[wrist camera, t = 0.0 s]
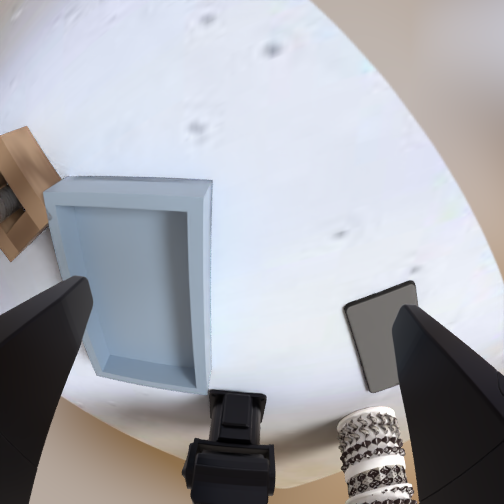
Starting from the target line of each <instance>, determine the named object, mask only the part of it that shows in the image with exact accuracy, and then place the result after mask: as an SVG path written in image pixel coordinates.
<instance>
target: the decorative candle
mask: <svg viewBox="0 0 504 504" xmlns="http://www.w3.org/2000/svg"><path fill="white" fill-rule="evenodd" d="M337 430H338V432H339V436H338V437H337V438H338V440H340V446H339V449H340V450H341V453H342V456H341V457H340V460H341V461H342V463H343V466H342V467H341V470H342V471H343V472H344V473H345V481H346V483H347V485H348V494H349V499H348V500H347V501H346V502H345V504H417V501H415V500H412V499H410V498H411V497H412V495H413V493H414V490H413V488H412V484H408V482H407V477H406V473H405V462H404V458H403V457H404V456H405V450H404V449H402V448H401V447H402V446H403V443H402V439H398V438H399V437H400V434H401V433H400V429H399V427H398V422H397V419H396V418H395V412H394V410H392V409H391V408H389V407H383V406H377V407H368V408H365V409H362V410H358V411H355V412H353V413H351V414H349V415H347V416H345V417H344V418H343V419H342V420H341V421H340V422H339V423H338V426H337Z"/></svg>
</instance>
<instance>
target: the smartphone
mask: <svg viewBox="0 0 504 504" xmlns="http://www.w3.org/2000/svg"><path fill="white" fill-rule="evenodd" d="M403 304H415V305H417V306H418V301H417V293H416V285H415V283H414V281H411V280H410V281H406V282H404V283H401V284H399V285H396V286H394V287H391V288H388V289H386V290H383V292H380V293H378V294H376V293H375V294H372V295H369V296H367V297H365V298H363V299H362V298H361V299H360V300H358V301H356V300H355V301H353V302H350V303H348V304H346V306H345V308H344V309H345V313H346V316H347V319H348V322H349V325H350V328H351V331H352V334H353V337H354V341H355V344H356V347H357V350H358V353H359V357H360V360H361V365H362V367H363V372H364V375H365V378H366V380H367V384H368V387H369V391H370V392H371V393H376V392H379V391H382V390H385V389H388V388H391V387H393V386H396V385H399V380H398V375H397V368H396V360H395V352H394V345H393V339H392V326H393V323H394V321H395V318H396V316H397V314H398V311H399V309H400V307H401V306H402V305H403Z"/></svg>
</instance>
